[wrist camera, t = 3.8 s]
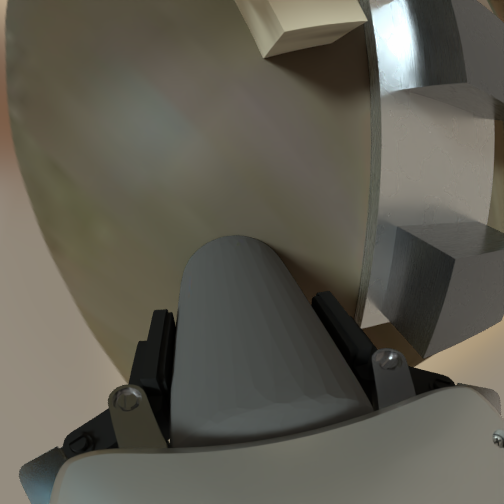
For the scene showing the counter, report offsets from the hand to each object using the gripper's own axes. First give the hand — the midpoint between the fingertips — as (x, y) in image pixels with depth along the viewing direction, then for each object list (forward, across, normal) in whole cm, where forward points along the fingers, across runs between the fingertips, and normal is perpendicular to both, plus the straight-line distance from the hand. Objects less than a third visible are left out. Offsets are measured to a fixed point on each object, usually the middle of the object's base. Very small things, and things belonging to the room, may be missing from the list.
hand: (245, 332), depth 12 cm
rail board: (+4, -14, -7) cm, 16 cm away
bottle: (+5, 0, 0) cm, 5 cm away
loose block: (+5, -3, -15) cm, 16 cm away
